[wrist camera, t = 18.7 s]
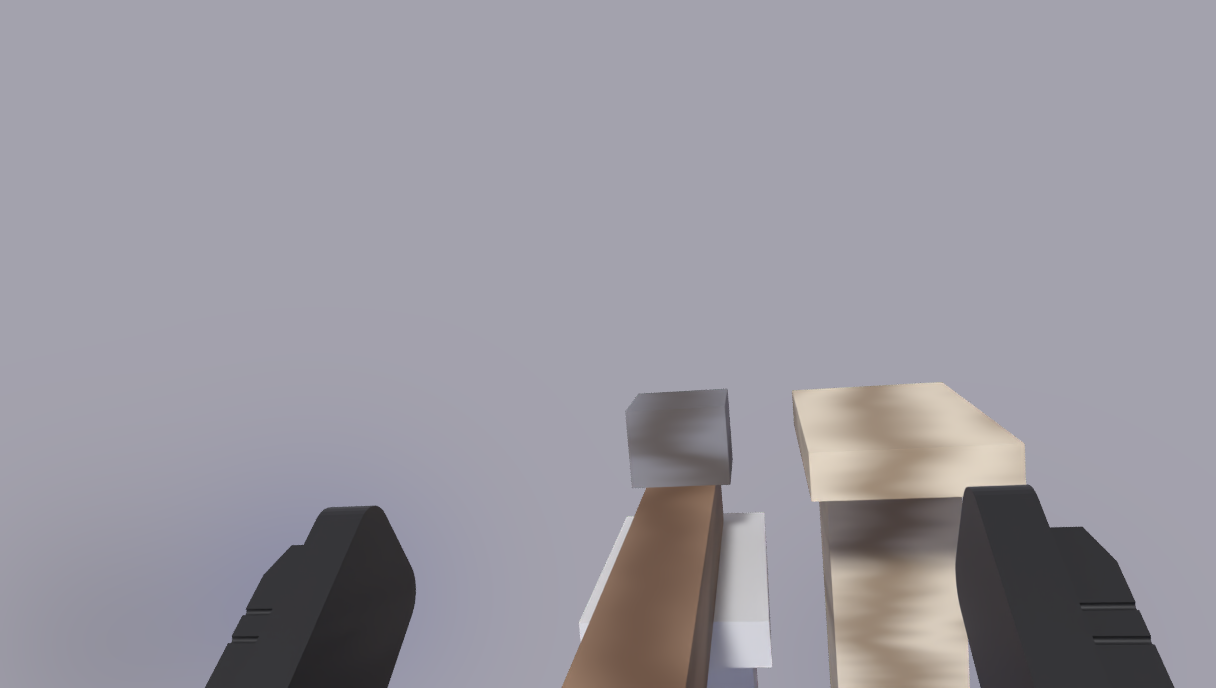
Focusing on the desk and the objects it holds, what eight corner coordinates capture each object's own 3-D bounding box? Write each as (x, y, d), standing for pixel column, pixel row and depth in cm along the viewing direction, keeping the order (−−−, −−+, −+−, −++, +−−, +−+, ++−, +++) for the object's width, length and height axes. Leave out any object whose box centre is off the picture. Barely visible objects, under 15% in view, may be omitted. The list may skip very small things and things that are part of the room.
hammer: (736, 519, 47) (727, 388, 46) (721, 821, 23) (700, 555, 22) (649, 521, 48) (638, 393, 47) (543, 815, 23) (516, 559, 23)
